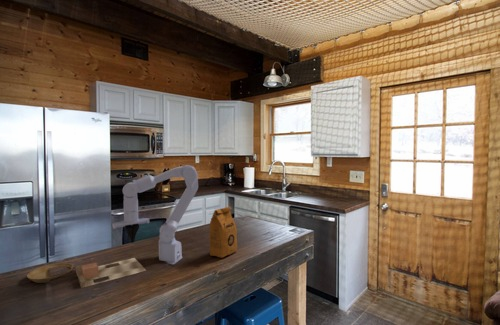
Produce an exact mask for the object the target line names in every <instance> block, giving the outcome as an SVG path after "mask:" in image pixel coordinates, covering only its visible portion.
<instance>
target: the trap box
mask: <svg viewBox="0 0 500 325" xmlns="http://www.w3.org/2000/svg"><path fill="white" fill-rule="evenodd" d="M113 264H119V265H114V266H110V267H107V266H109V265H113ZM143 272H147V270H146V268H145V267H144V266H143V265H142V264H141V263H140V262H139V261H138V260H137V259H136V258H135V257H132V258H127V259H124V260H119V261H115V262H111V263H107V264H102V265H98V275H99V277H95V278H91V279H87V280H84V277H83V274H82V272H81V265H77V266H75V273H76V276H77V279H78V283H79V285H80V289H83V288H86V287H91V286H94V285H98V284H100V283H101V284H102V283H105V282H109V281H113V280H116V279H121V278H123V277H128V276H132V275H135V274H138V273H143ZM105 277H107V278H108V279H105V280H101V281H97V282H94V280H98V279H102V278H105Z"/></svg>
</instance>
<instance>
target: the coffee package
mask: <svg viewBox="0 0 500 325" xmlns="http://www.w3.org/2000/svg"><path fill="white" fill-rule="evenodd" d="M231 211H232V207H231V206H226V207H222V208H218V209H216V210H214V212H213V214H212V217H211V218H210V221H209V222H210V223H209V238H208V239H209V255H210V256H213V257H217V258H225V257H226V256H230V255H231V254H234V253H236V252H237V250H238V240H237V238H238V237H237V235H238V231H237V230H238V229H237V226H236V222H235V219H233V216H232V214H231V213H232V212H231Z"/></svg>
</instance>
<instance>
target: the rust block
mask: <svg viewBox="0 0 500 325" xmlns="http://www.w3.org/2000/svg"><path fill="white" fill-rule="evenodd" d="M98 266H99V265H98V263H97V261H95V262H90V263H86V264H81V265H80V269H81V272H82V274H83V277H84V280H87V279H91V278H95V277H99V275H98Z"/></svg>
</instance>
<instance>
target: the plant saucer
mask: <svg viewBox="0 0 500 325" xmlns="http://www.w3.org/2000/svg"><path fill="white" fill-rule="evenodd" d="M59 267H65V268H66V267H67V268H70V269H69V270H67V271H66V272H63V273H61V274H58V275H55V276H51V270H50V269H52V268H59ZM73 268H74V265H73V264H72V263H70V262H69V263H68V262H62V263H60V262H59V263H52V264H47V265H44V266H41V267H38V268H36V269H33V270H31V271H30V272H28V274H27V275H26V277H27V279H29V280H30V281H32V282H33V283H37V284H43V283H50V282H51V281H52V280H54V279H58V278H61V277H64V276H66V275H68V274H69V273H71V271H72V270H73Z"/></svg>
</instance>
